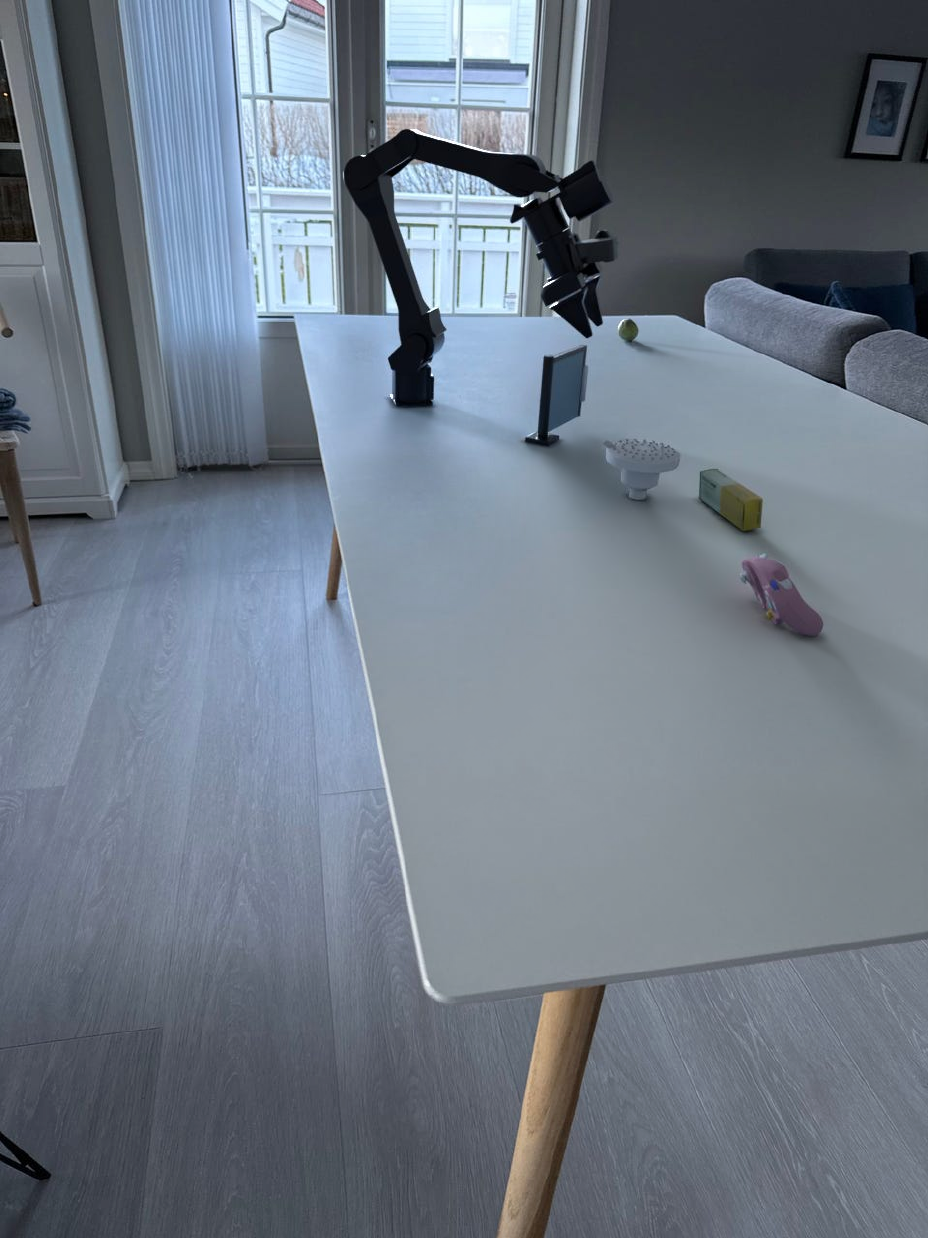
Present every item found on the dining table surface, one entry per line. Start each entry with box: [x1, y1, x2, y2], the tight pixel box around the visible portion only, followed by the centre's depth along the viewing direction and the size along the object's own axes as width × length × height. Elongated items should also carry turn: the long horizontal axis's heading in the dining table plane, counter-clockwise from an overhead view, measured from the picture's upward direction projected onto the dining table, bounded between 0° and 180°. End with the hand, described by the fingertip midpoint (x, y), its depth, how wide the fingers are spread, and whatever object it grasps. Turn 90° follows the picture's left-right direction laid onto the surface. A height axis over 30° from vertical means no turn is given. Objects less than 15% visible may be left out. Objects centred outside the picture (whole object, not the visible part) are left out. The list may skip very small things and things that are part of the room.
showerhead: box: [602, 438, 681, 501], centre depth 117 cm, size 9×7×10 cm
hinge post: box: [524, 354, 560, 448], centre depth 136 cm, size 4×4×13 cm
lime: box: [617, 318, 639, 342], centre depth 212 cm, size 4×5×5 cm
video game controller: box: [739, 552, 824, 637], centre depth 89 cm, size 10×5×7 cm, turn 5°
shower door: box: [548, 344, 589, 433], centre depth 141 cm, size 2×12×11 cm, turn 150°
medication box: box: [698, 468, 764, 532], centre depth 113 cm, size 12×3×4 cm, turn 13°
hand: (595, 330), depth 144 cm, fingers open, 9 cm apart
